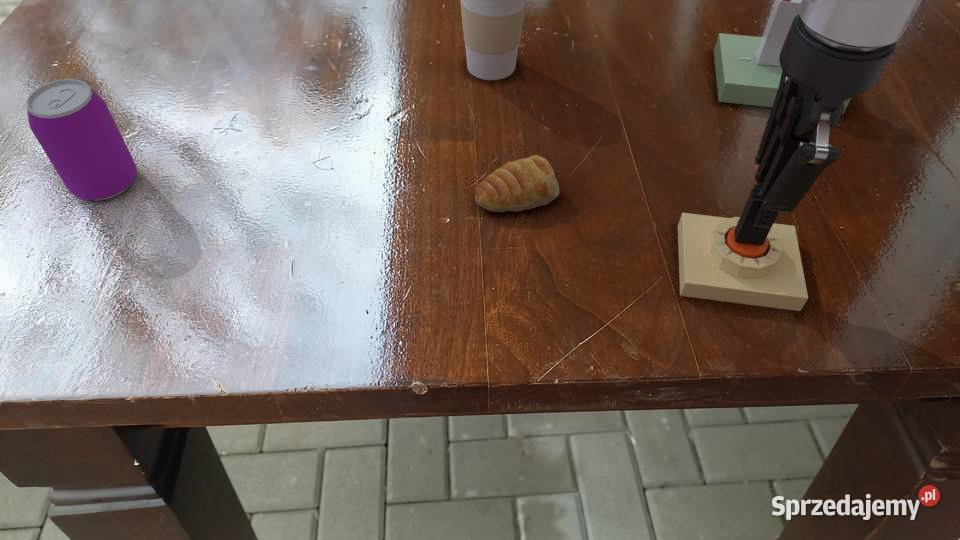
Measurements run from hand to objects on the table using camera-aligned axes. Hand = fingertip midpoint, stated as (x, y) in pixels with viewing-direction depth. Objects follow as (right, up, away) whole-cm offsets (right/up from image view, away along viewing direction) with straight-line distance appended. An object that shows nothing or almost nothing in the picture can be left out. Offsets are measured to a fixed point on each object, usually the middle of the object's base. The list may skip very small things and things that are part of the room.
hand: (748, 238), depth 70 cm
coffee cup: (-26, +25, +27) cm, 45 cm away
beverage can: (-71, +7, +11) cm, 72 cm away
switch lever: (+13, +25, +23) cm, 36 cm away
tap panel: (+13, +23, +25) cm, 36 cm away
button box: (0, -3, +4) cm, 5 cm away
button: (0, -1, +2) cm, 2 cm away
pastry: (-23, +5, +10) cm, 25 cm away
